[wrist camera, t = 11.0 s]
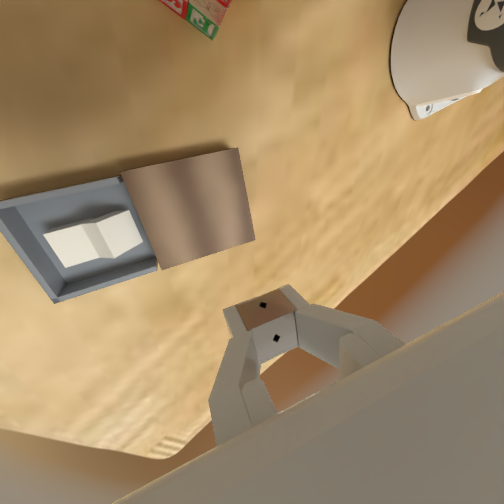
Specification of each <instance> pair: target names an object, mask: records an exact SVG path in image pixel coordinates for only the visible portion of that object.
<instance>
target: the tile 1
mask: <svg viewBox="0 0 504 504" xmlns="http://www.w3.org/2000/svg"><path fill="white" fill-rule="evenodd" d="M90 220H93V218H90V219H86V220H82V221H78V222H74V223H70V224H67V225H63V226H59V227H55V228H52V229H51V230H49V231H48V232H46V233H45V234H43V235H44V237H45V238H46V240H47V241H48V243H49V244H50V246H51V247H52V249H53V250H54V252H55V253H56V255H57V256H58V258H59V259H60V261H61V262H62V264H63V265H64V267H65V268H67V267H70V266H73V265H77V264H80V263H83V262H87V261H90V260H93V259H97V258H100V257H99V255H98V254H97V252H96V250H95V248H94V246H93V245H92V243H91V241H90V239H89V238H88V236H87V234H86V232H85V230H84V229H83V227H82V225H81V224H82V223H85V222H87V221H90Z"/></svg>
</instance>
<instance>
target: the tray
mask: <svg viewBox="0 0 504 504" xmlns="http://www.w3.org/2000/svg"><path fill="white" fill-rule="evenodd" d="M123 210H129V211H130V213H131V216H132V218H133V220H134V222H135V225H136V227H137V229H138V231H139V234H140V236H141V238H142V240H143V242H142V243H140V244H138V245H137V246H135V247H133V248H131V249H130V250H128V251H126V252H124V253H123V254H121V255H119V256H118V257H116V258H97V259H93V260H90V261H87V262H83V263H80V264H77V265H73V266H70V267H67V268H65V267H64V265H63V264H62V262H61V261H60V259H59V258H58V256H57V255H56V253H55V252H54V250H53V249H52V247H51V246H50V244H49V243H48V241H47V240H46V238H45V237H44V235H43V234H45V233H46V232H48V231H49V230H51V229H52V228H55V227H59V226H63V225H67V224H70V223H74V222H78V221H82V220H86V219H90V218H93V219H95V218H98V217H101V216H103V215H106V214H108V213H111V212H114V211H123ZM0 231H1V233H2V234H3V235H4V237H5V238H6V239H7V241H8V242H9V243H10V245H11V246H12V247H13V249H14V250H15V252H16V253H17V254H18V256H19V257H20V258H21V260H22V261H23V262H24V264H25V265H26V266H27V268H28V269H29V270H30V272H31V273H32V274H33V276H34V277H35V279H36V280H37V281H38V283H39V284H40V285H41V287H42V288H43V289H44V291H45V292H46V293H47V295H48V296H49V297H50V299H51V300H52V301H53V303H54V304H55V303H58V302H61V301H64V300H67V299H70V298H74V297H77V296H80V295H83V294H86V293H89V292H92V291H95V290H98V289H101V288H104V287H108V286H111V285H114V284H117V283H120V282H123V281H126V280H129V279H132V278H135V277H138V276H142V275H145V274H148V273H151V272H154V271H157V270H158V260H157V257H156V255H155V253H154V250H153V248H152V246H151V243H150V241H149V239H148V236H147V234H146V232H145V229H144V227H143V225H142V222H141V220H140V218H139V215H138V213H137V210H136V208H135V206H134V203H133V201H132V199H131V196H130V194H129V192H128V189H127V187H126V185H125V182H124V180H123V178H122V175H120V176H116V177H111V178H106V179H101V180H97V181H92V182H87V183H82V184H77V185H73V186H68V187H63V188H58V189H54V190H49V191H44V192H39V193H35V194H30V195H25V196H20V197H16V198H11V199H6V200H2V201H0Z"/></svg>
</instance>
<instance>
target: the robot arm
mask: <svg viewBox="0 0 504 504" xmlns="http://www.w3.org/2000/svg"><path fill="white" fill-rule="evenodd" d="M391 71H392V78H393V82H394V85H395V88H396V90H397V92H398V94H399V95H400V97H401V98H402V99H403V100H404V101H405V102H406V103H407V104H408V106H409V108H410V112H411V115H412V117H413V119H414V120H420V119H423V118H425V117H427V116H429V115H431V114H433V113H435V112H437V111H439V110H441V109H443V108H445V107H447V106H449V105H451V104H453V103H455V102H457V101H458V100H460V99H462V98H464V97H466V96H468V95H472V94H476V93H479V92H480V91H481V90H482V88H485V87H487V86H489V85H491V84H493V83H494V82H496V81H497V80H499V79H500V78H502V77H503V76H504V0H408V1H407V2H406V4H405V6H404V8H403V10H402V12H401V14H400V16H399V19H398V22H397V25H396V28H395V32H394V36H393V41H392V48H391ZM223 313H224V317H225V320H226V323H227V326H228V330H229V333H230V336H231V339H229V342H228V345H227V348H226V351H225V354H224V357H223V360H222V362H221V365H220V368H219V371H218V374H217V377H216V380H215V383H214V385H213V388H212V391H211V394H210V397H209V400H208V401H209V406H210V412H211V418H212V423H213V429H214V434H215V439H216V445H217V447H215V448H213V449H212V450H210V451H208V452H206V453H204V454H202V455H200V456H198V457H197V458H195V459H193V460H191V461H189V462H187V463H185V464H184V465H182V466H180V467H178V468H176V469H174V470H173V471H171V472H169V473H167V474H165V475H163V476H161V477H160V478H158V479H156V480H154V481H152V482H150V483H149V484H147V485H145V486H143V487H141V488H139V489H138V490H136V491H134V492H132V493H130V494H128V495H126V496H125V497H123V498H121V499H119V500H117V501H115V502H114V503H111V504H504V291H503V292H502V293H500V294H498V295H496V296H494V297H492V298H491V299H489V300H487V301H485V302H483V303H481V304H480V305H478V306H476V307H474V308H472V309H470V310H468V311H466V312H465V313H463V314H461V315H459V316H457V317H455V318H454V319H452V320H450V321H448V322H446V323H444V324H442V325H441V326H439V327H437V328H435V329H433V330H431V331H429V332H428V333H426V334H424V335H422V336H420V337H418V338H417V339H415V340H413V341H411V342H409V343H407V344H405V343H404V342H402V341H401V340H400V339H398V338H397V337H396V336H394V335H393V334H392V333H391V332H389V331H388V330H387V329H385V328H384V327H383V326H381V325H380V324H379V323H377V322H376V321H375V320H372V319H368V318H364V317H361V316H357V315H353V314H350V313H346V312H342V311H339V310H335V309H331V308H328V307H324V306H320V305H317V304H311V305H310V304H309V303H308V302H307V301H306V300H305V299H304V298H303V297H302V296H301V295H300V294H299V293H298V292H297V291H296V290H295V289H294V288H293V287H291V286H290V285H289V284H287V285H285V286H282V287H280V288H278V289H276V290H273V291H271V292H268V293H266V294H263V295H261V296H258V297H255V298H252V299H250V300H247V301H244V302H241V303H239V304H236V305H235V306H234V305H233V306H231V307H228V308H225V309H223ZM298 346H299V348H301V349H303V350H305V351H307V352H308V353H310V354H313V355H314V356H316V357H318V358H320V359H321V360H323V361H325V362H327V363H329V364H331V365H332V366H335V367H336V368H338V369H339V381H337V382H335V383H334V384H332V385H330V386H328V387H326V388H324V389H323V390H320V391H319V392H317V393H315V394H313V395H311V396H309V397H308V398H306V399H304V400H302V401H300V402H298V403H297V404H295V405H293V406H291V407H289V408H287V409H285V410H284V411H282V412H280V413H277V411H276V408H275V406H274V404H273V402H272V400H271V397H270V395H269V393H268V391H267V389H266V387H265V385H264V382H263V380H261V379H259V375H260V367H261V365H260V364H262V363H264V362H266V361H268V360H270V359H272V358H274V357H276V356H278V355H280V354H282V353H285V352H287V351H289V350H292V349H294V348H296V347H298Z"/></svg>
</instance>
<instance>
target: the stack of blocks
mask: <svg viewBox="0 0 504 504" xmlns="http://www.w3.org/2000/svg"><path fill="white" fill-rule="evenodd" d="M160 1H161V2H162V3H163V4H165V5H166V6H167V7H169V8H170V9H171V10H173V11H174V12H175V13H177V14H178V15H179V16H181V17H182V18H183V19H185V20H187V21H188V22H189V23H191V24H192V25H193V26H195V27H196V28H197V29H198V30H200V31H201V32H202V33H204V34H205V35H206V36H208V37H209V38H210V39H211V40H214V38H215V36H216V34H217V32H218V30H219V28H220V25H221V22H222V19H223V17H224V14H225V12H226V10H227V8H229V6H230V4H231V1H232V0H160Z"/></svg>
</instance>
